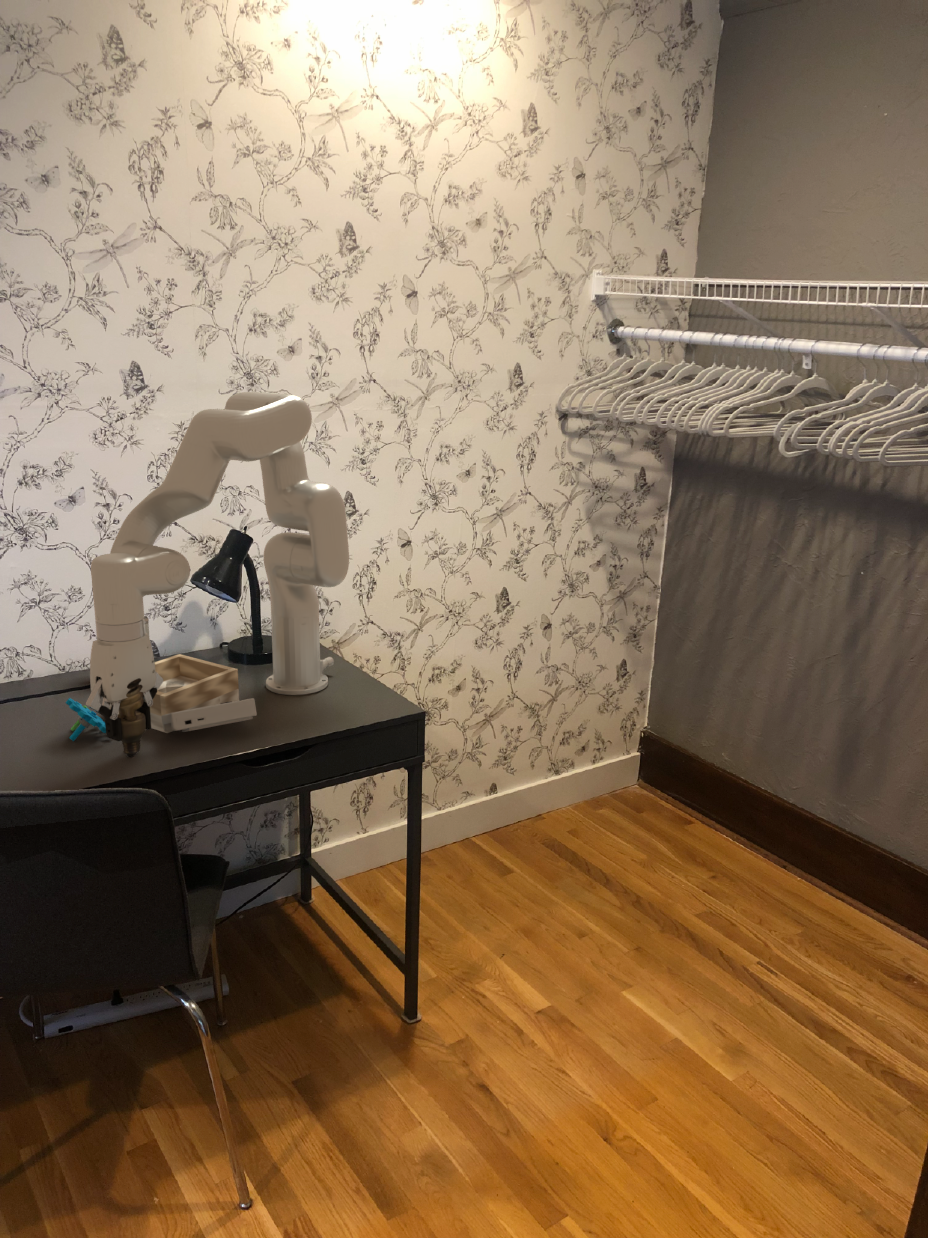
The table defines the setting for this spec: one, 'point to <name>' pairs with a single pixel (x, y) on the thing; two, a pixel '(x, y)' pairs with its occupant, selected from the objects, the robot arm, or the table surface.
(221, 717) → the handheld gaming device
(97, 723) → the gear
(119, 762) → the table surface
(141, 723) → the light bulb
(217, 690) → the bore box
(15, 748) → the table surface
